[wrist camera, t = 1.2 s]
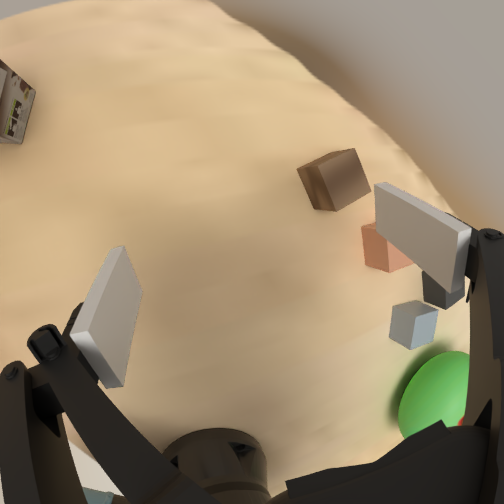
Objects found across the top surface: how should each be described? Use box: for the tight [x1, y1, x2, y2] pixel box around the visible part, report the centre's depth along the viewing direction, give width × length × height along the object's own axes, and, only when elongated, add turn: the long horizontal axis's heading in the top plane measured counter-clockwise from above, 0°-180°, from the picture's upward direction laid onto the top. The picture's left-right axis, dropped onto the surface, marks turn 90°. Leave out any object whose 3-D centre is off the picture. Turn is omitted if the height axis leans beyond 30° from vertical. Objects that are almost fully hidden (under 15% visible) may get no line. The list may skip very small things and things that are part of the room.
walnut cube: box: [297, 148, 371, 212], centre depth 33 cm, size 5×5×5 cm
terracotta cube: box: [361, 223, 414, 273], centre depth 37 cm, size 5×5×5 cm
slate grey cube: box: [389, 301, 438, 350], centre depth 41 cm, size 5×5×5 cm
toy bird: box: [398, 351, 470, 439], centre depth 41 cm, size 18×17×15 cm
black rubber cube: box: [422, 271, 465, 310], centre depth 42 cm, size 5×5×5 cm
